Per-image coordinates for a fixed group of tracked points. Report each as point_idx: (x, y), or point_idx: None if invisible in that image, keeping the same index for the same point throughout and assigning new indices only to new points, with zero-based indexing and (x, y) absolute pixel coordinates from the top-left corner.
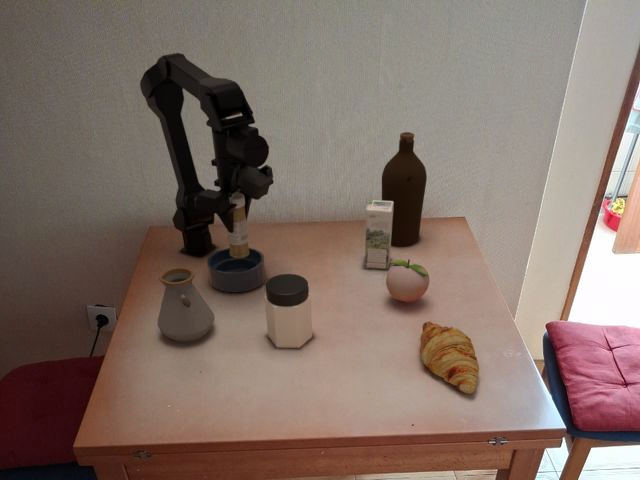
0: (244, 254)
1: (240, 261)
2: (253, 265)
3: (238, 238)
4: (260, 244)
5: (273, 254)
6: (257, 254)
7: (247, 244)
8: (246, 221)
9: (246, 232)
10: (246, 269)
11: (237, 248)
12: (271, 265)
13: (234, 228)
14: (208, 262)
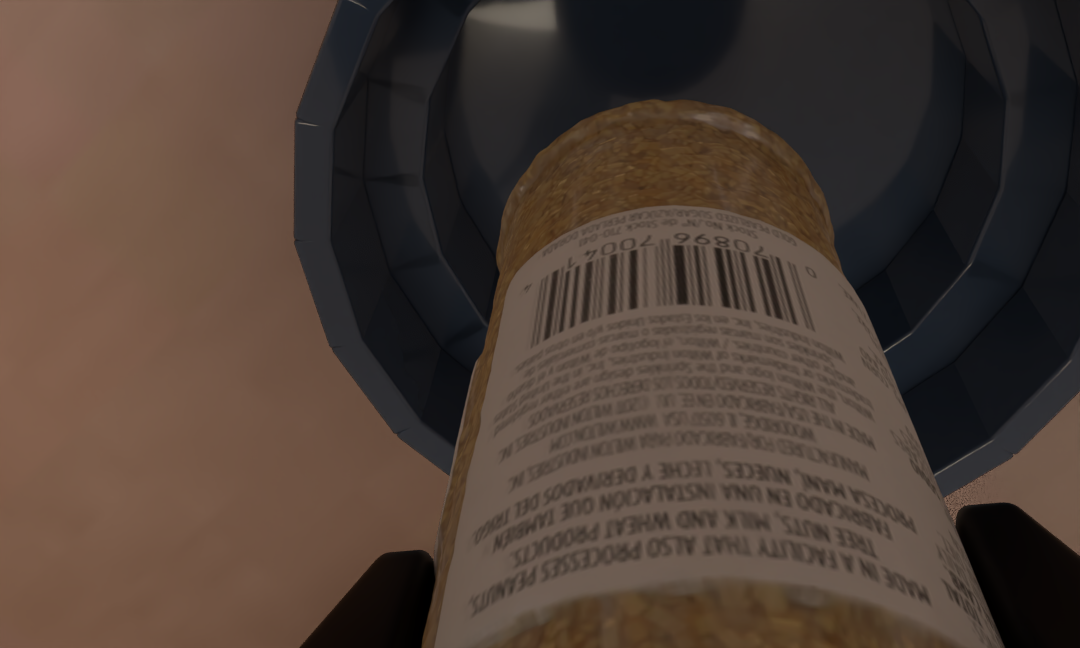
0: (713, 126)
1: (486, 300)
2: (435, 124)
3: (850, 332)
4: (4, 435)
5: (8, 208)
6: (344, 142)
7: (597, 199)
8: (360, 587)
9: (601, 330)
10: (483, 190)
11: (824, 250)
12: (178, 51)
13: (963, 561)
14: (978, 462)
